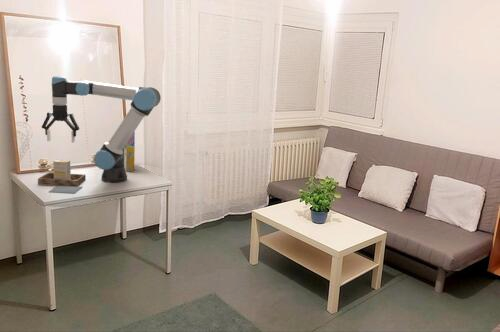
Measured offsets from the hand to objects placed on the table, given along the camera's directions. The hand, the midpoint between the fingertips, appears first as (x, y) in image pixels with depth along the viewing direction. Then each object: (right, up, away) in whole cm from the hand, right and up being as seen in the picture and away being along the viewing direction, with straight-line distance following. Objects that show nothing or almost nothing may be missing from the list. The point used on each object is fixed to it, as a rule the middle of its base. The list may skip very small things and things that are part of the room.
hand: (61, 141), depth 245 cm
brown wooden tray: (-2, -24, +6) cm, 24 cm away
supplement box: (-2, -24, +6) cm, 25 cm away
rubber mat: (+6, -27, -8) cm, 29 cm away
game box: (+24, -16, +49) cm, 56 cm away
